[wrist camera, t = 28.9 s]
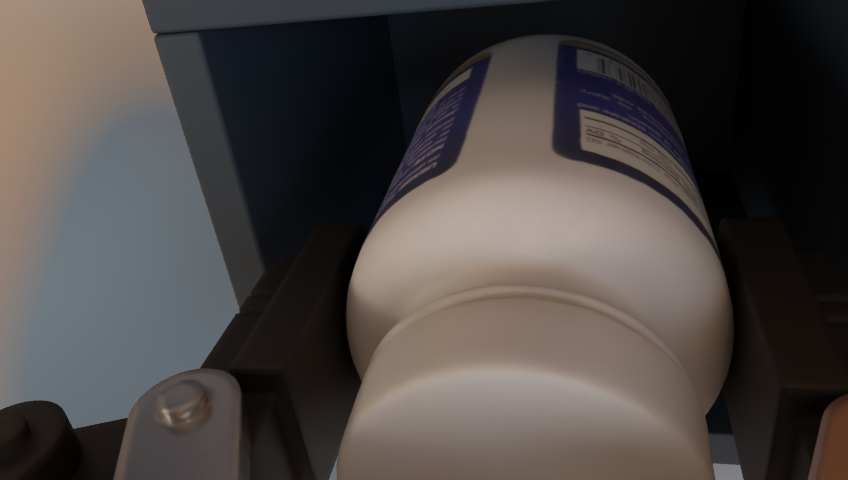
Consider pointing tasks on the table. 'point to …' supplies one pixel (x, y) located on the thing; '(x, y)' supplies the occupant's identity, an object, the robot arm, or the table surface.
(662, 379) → the pill bottle
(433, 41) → the chest
